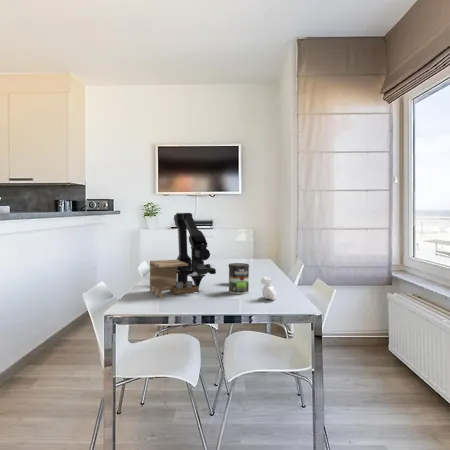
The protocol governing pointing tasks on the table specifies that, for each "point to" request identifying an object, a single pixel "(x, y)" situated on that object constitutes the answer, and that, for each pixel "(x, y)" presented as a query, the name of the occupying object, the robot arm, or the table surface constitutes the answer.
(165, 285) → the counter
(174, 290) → the tray
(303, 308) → the table surface
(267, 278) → the duck figurine
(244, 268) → the coffee can
